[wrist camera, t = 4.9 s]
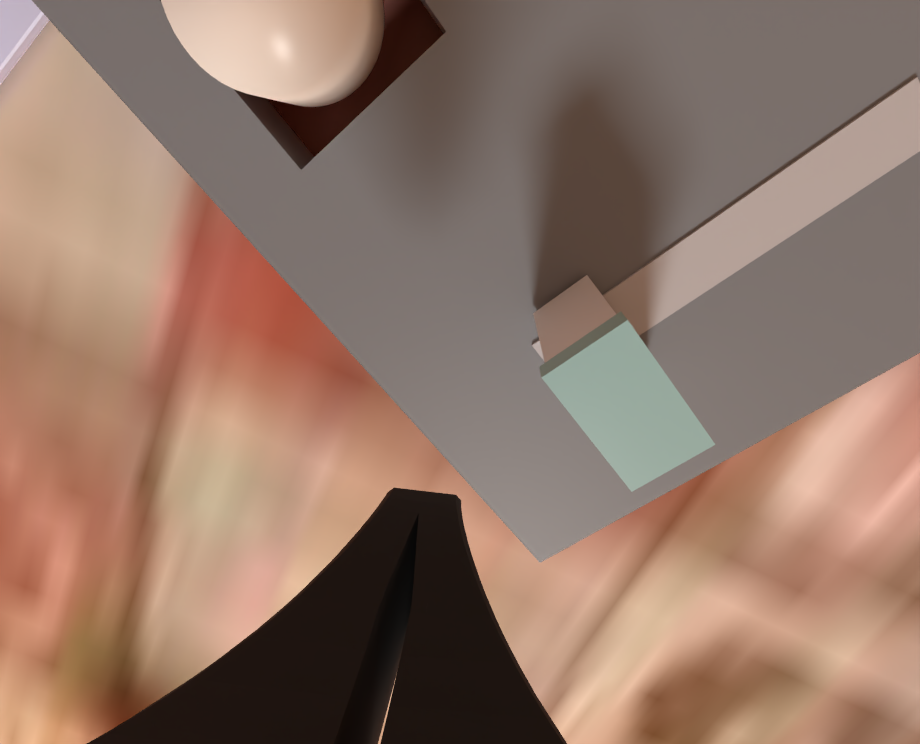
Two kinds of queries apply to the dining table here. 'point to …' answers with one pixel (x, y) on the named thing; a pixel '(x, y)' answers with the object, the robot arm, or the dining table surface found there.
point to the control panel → (579, 214)
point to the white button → (283, 45)
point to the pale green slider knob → (615, 386)
